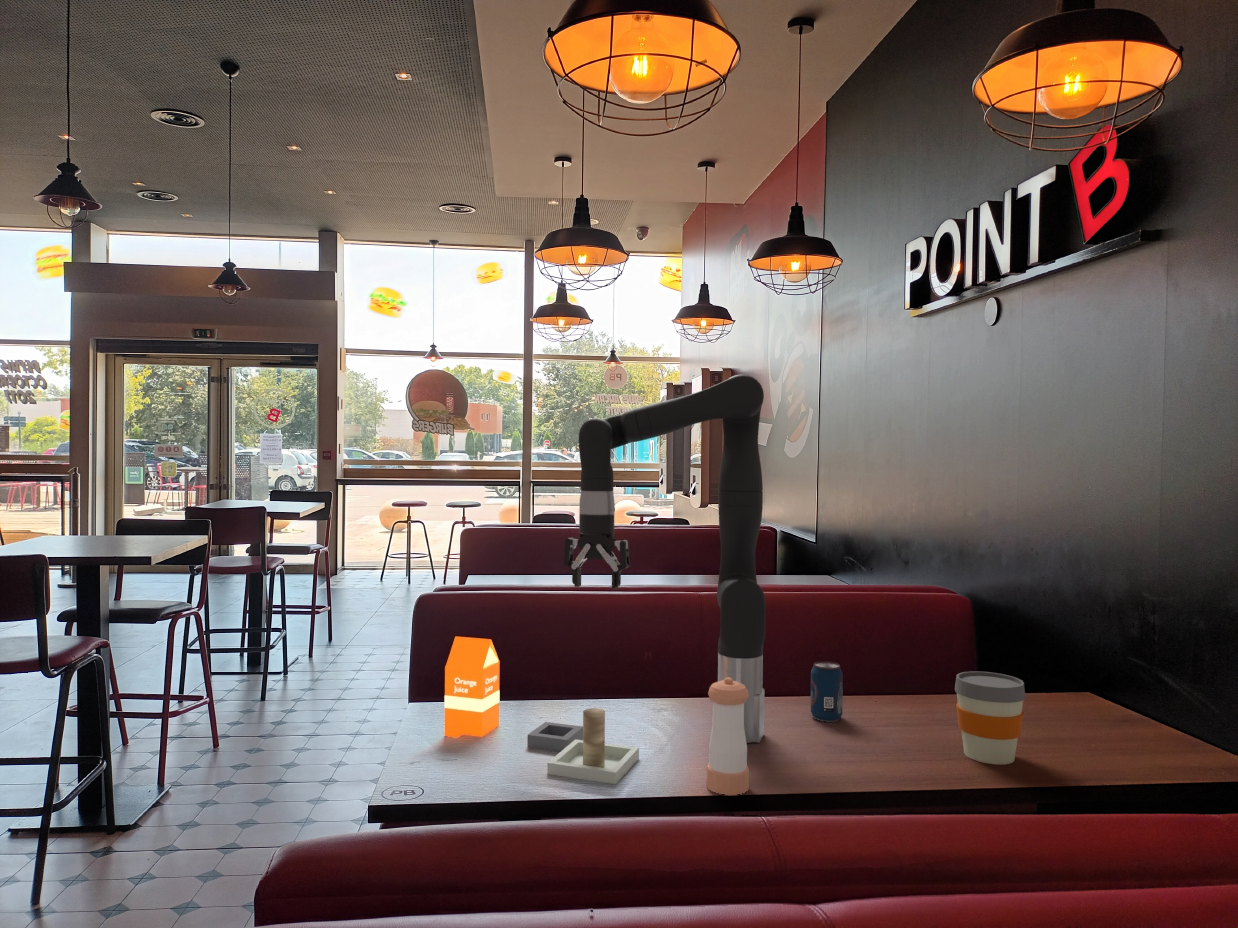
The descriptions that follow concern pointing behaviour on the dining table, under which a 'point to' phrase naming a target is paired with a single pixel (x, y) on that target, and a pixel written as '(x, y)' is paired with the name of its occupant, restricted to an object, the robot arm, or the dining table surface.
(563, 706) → the dining table surface
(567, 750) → the tray
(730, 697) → the pepper shaker
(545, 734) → the grey square socket
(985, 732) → the reusable coffee cup
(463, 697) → the orange juice
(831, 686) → the soda can
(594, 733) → the dowel
